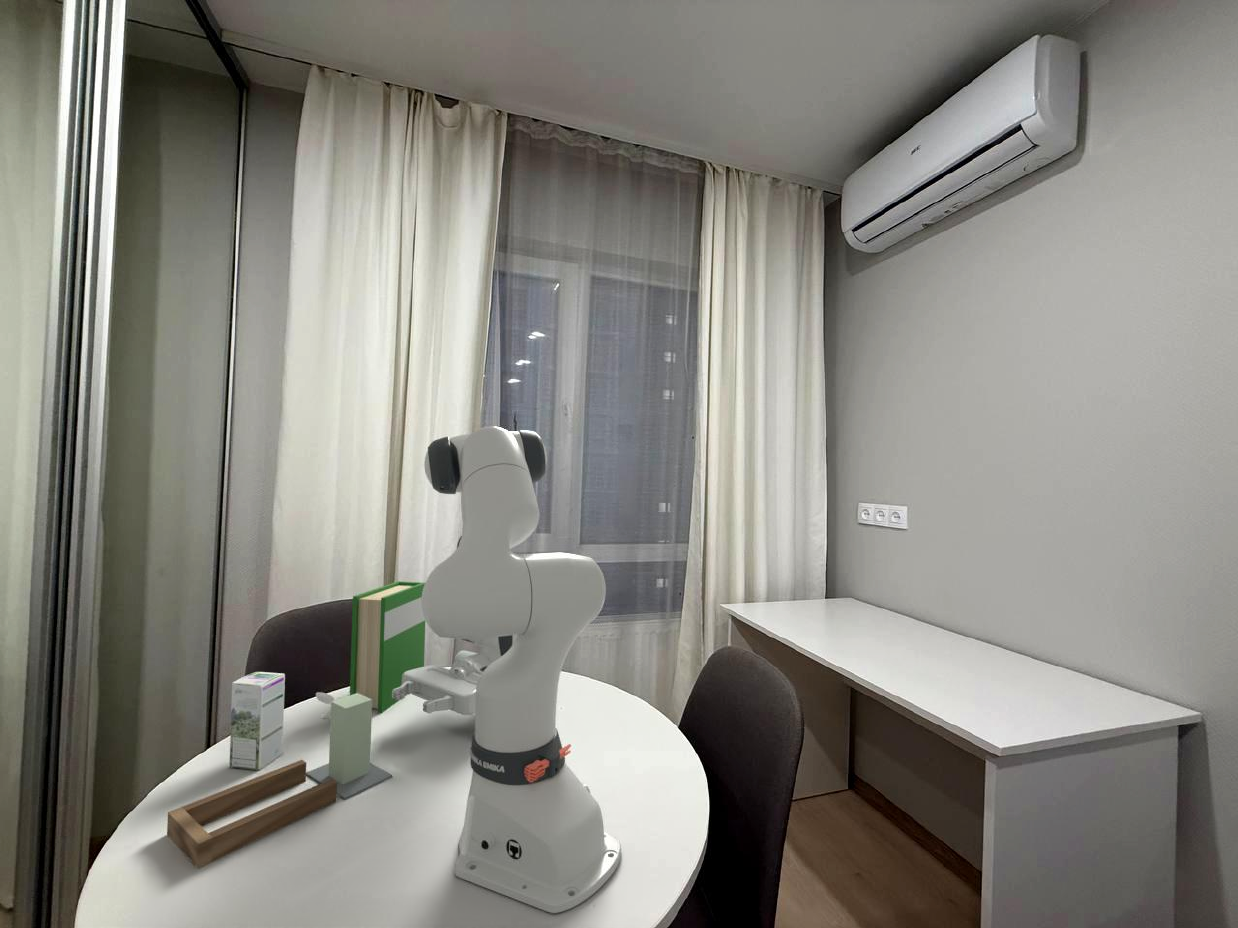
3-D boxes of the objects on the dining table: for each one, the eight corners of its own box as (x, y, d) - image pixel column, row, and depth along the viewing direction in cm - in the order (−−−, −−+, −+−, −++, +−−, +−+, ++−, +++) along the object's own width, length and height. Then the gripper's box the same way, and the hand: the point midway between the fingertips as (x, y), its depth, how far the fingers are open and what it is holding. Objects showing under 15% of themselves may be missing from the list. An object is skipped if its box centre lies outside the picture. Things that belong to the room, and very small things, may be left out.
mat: (392, 776, 89) (392, 774, 89) (344, 799, 83) (344, 797, 83) (352, 754, 96) (352, 753, 96) (306, 774, 90) (306, 772, 90)
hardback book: (381, 713, 113) (385, 598, 114) (349, 710, 114) (353, 596, 115) (423, 682, 131) (426, 582, 132) (395, 680, 132) (398, 581, 133)
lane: (336, 801, 82) (337, 781, 82) (197, 868, 68) (198, 843, 68) (301, 777, 89) (301, 759, 89) (166, 834, 74) (167, 812, 74)
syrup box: (284, 754, 96) (287, 671, 96) (257, 771, 90) (261, 683, 91) (255, 751, 97) (258, 669, 97) (227, 768, 91) (230, 681, 91)
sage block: (369, 772, 90) (372, 699, 90) (343, 784, 86) (345, 708, 87) (355, 763, 93) (357, 692, 93) (328, 775, 89) (331, 701, 89)
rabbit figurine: (359, 716, 112) (327, 711, 106) (345, 730, 111) (312, 726, 105) (352, 693, 116) (320, 687, 109) (339, 707, 115) (306, 701, 109)
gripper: (437, 653, 116) (377, 671, 105) (504, 674, 105) (445, 697, 93) (436, 683, 116) (376, 704, 105) (503, 707, 105) (443, 734, 93)
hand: (409, 701), depth 99 cm, fingers open, 8 cm apart
